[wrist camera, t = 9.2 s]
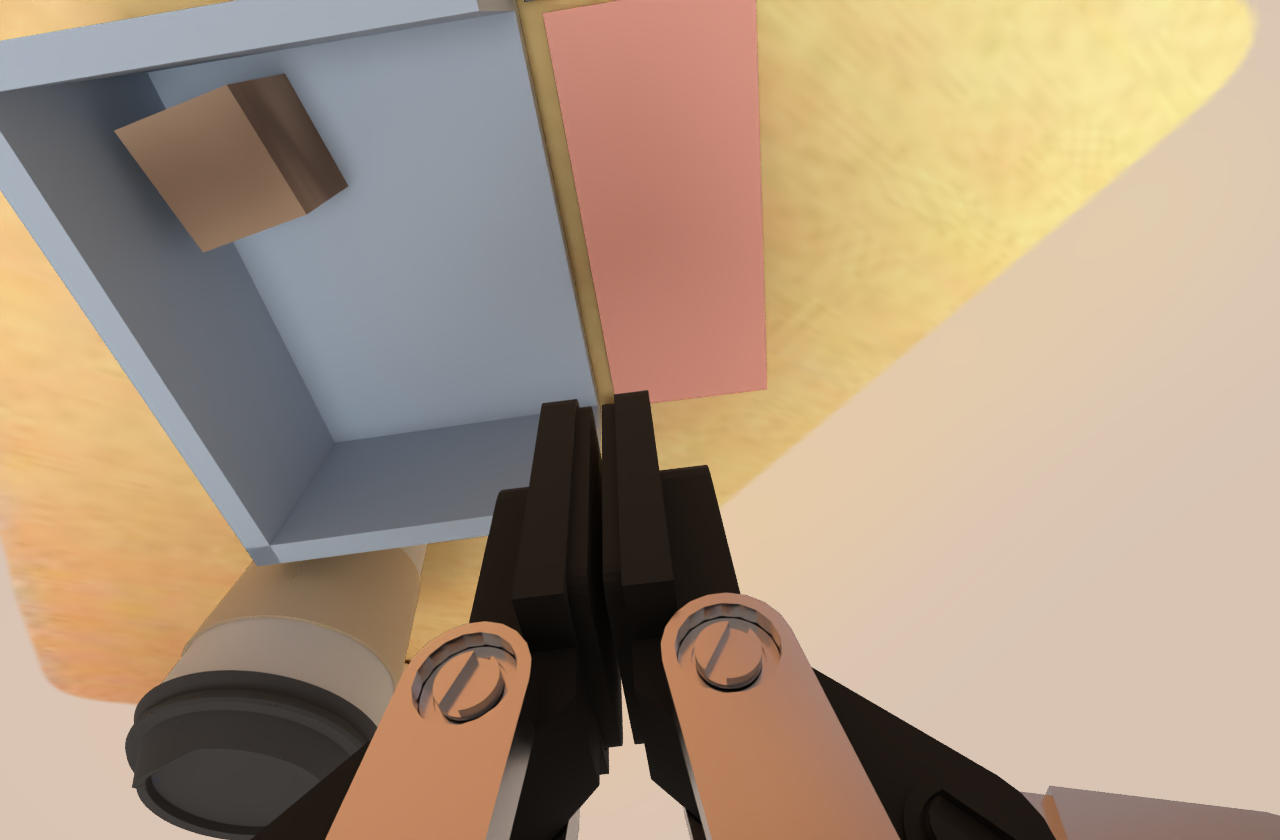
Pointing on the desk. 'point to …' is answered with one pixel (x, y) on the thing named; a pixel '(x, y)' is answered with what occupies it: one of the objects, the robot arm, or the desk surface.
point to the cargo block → (235, 160)
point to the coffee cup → (275, 690)
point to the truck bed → (319, 262)
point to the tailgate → (668, 187)
